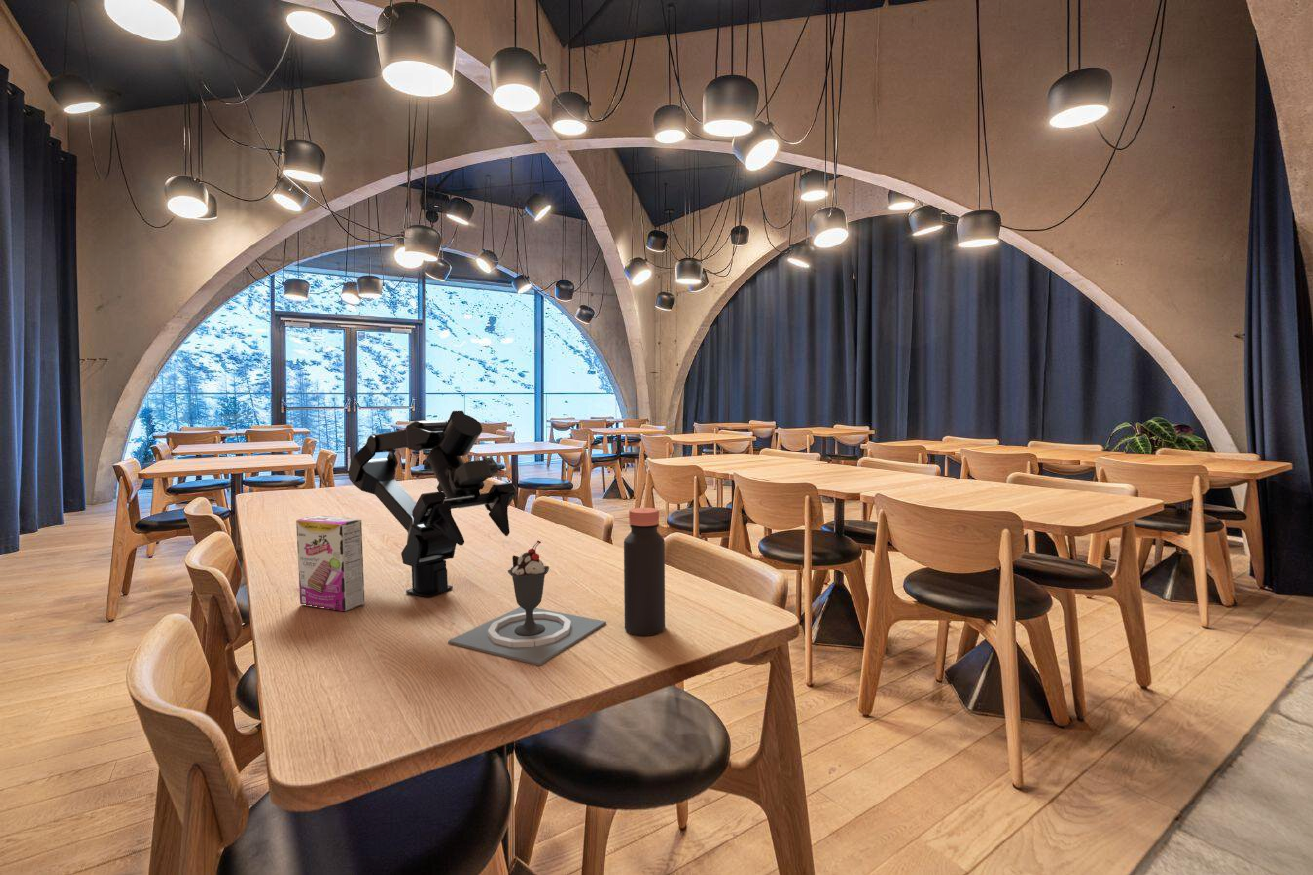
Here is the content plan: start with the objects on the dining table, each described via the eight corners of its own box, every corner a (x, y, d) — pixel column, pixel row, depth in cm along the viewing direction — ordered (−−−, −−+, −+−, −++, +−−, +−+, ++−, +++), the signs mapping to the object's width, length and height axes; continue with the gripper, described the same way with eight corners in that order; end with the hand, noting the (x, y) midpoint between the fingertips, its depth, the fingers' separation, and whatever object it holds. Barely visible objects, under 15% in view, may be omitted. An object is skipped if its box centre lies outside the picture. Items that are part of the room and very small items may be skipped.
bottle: (635, 639, 95) (634, 515, 94) (618, 625, 101) (616, 508, 100) (672, 632, 98) (672, 511, 97) (653, 618, 104) (653, 505, 103)
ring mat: (448, 643, 95) (448, 635, 94) (523, 607, 110) (523, 601, 110) (539, 665, 86) (539, 657, 86) (606, 623, 102) (606, 616, 102)
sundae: (554, 634, 97) (552, 542, 96) (511, 640, 94) (509, 546, 93) (547, 620, 103) (545, 534, 102) (507, 625, 101) (505, 537, 100)
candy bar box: (297, 606, 112) (294, 519, 111) (320, 598, 116) (317, 514, 115) (344, 613, 108) (340, 523, 107) (366, 604, 113) (362, 518, 112)
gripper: (418, 447, 102) (454, 519, 95) (510, 441, 116) (547, 503, 109) (397, 488, 108) (430, 559, 101) (488, 478, 122) (522, 539, 115)
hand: (485, 539), depth 106 cm, fingers open, 9 cm apart
